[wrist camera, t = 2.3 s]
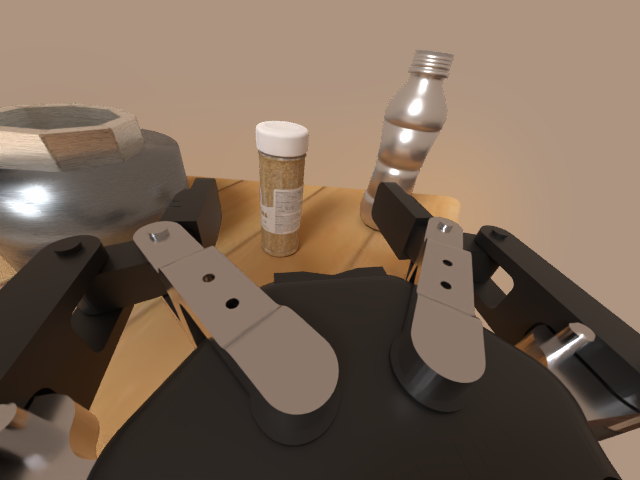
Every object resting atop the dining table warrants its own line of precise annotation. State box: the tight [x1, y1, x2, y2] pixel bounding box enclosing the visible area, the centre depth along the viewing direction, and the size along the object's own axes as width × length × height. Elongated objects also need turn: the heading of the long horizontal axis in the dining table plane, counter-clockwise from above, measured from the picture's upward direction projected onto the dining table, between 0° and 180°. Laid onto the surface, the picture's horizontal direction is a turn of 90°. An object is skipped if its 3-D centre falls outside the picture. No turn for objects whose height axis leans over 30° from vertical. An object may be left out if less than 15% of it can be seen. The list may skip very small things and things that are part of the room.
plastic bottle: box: [360, 50, 454, 231], centre depth 29 cm, size 6×7×20 cm
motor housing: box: [0, 103, 189, 273], centre depth 23 cm, size 15×18×12 cm
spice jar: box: [256, 121, 309, 257], centre depth 24 cm, size 5×5×14 cm
